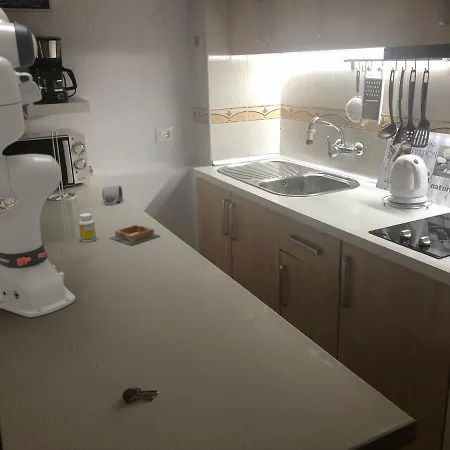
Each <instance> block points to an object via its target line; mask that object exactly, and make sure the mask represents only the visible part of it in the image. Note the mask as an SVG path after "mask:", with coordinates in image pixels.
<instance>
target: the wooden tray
mask: <svg viewBox="0 0 450 450" xmlns="http://www.w3.org/2000/svg"><path fill="white" fill-rule="evenodd" d="M114 234H115V235H114V236H111V237H109V239H110V240H112V241H114V242H118V243H122V244H124V245H128V246H131V247H132V246H137V245H139V244H142V243H145V242H147V241H151V240H154V239H157V238H160V237H161V235H159V234H157V233H155V229H154V228H150V227H147V226H145V225H143V226H142V225H139V224H135V225H130V226H127V227H124V228H120V229H118V230H114Z"/></svg>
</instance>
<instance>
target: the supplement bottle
mask: <svg viewBox="0 0 450 450" xmlns="http://www.w3.org/2000/svg"><path fill="white" fill-rule="evenodd" d="M78 225H79V235H80V240H81V241H82V242H84V243H89V242H94V241H95V240H96V239H97V235H96V228H95V227H96V226H95V221H94V219H93V218H92V213H91V212H90V213H88V212H87V213H81V214H80V215H79V222H78Z"/></svg>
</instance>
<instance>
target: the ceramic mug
mask: <svg viewBox="0 0 450 450" xmlns="http://www.w3.org/2000/svg"><path fill="white" fill-rule="evenodd" d="M123 195H124V194H123V188H122V186H121V185H112V186H104V187H103V188H102V199H103V201H104V204H105V205H106V206H113V205H116V204H117V203H122V202H123V198H124V197H123Z"/></svg>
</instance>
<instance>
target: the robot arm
mask: <svg viewBox="0 0 450 450" xmlns="http://www.w3.org/2000/svg"><path fill="white" fill-rule="evenodd" d="M37 56H38V44H37V39H36V37H35V36H34V33H32V30H31V29H30V28H29V27H28V26H26V25H24V24H21V23H18V21H16V20H14V22H10V19H9V18H8V16H7V14H6V13H5V12H4V10H3V9H2V7H0V200H6V199H15V200H16V202H15V204H14V205H13V207H11V208H10V209H8V210H6V211H5V212H3V213H2V214H0V309H2V310H5V311H9V312H11V313H14V314H17V315H21V316H23V317H26V318H34V317H40V316H43V315H47V314H50V313H53V312H55V311H58V310H61V309H64V308H65V307H68V306H69V305H70V304H72V303H74V302H75V301H76V295H75V294H73V293H72V291H70V290H69V289H68V288H67V287H66V286H65V283H64V280H65V274H64V272H63V271H60V272H58V271H57V269H56V266H55V264H52V263H51V261H50V260H49V258H48V252H47V249H46V247H45V245H44V243H43V241H42V234H41V214H42V213H41V212H42V209H43V207H44V205H45V203H46V201H47V200H48V199H49V197H50V195H51V194H53V193H54V192H55V191H56V190H57V189H58V187H59V186H60V184H61V181H62V170H61V169H62V168H61V166H60V165H59V162H58V161H57V160H56V159H55V158H54V157H53V156H52V155H48V154H41V153H39V154H38V153H26V154H25V153H24V154H15V155H5V154H3V153H4V152H3V151H4V150H5V149H6V148H7V147H8V146H10V145H12V144H13V143H15V142H16V141H18V140H19V139H20V138H21V137H23V135H24V134H25V130H26V125H25V124H26V123H25V117H24V112H23V111H24V109H23V106H25V105H28V106H29V109H28V110H27V113H28V114H27V115H28V117H33V116H34V112H33V111H34V106H35V104H34V103H37V102H39V101H42V99H43V96H42V93H41V90H40V88H39V86H38V84H37V83H36V81H33V76H32V74H30V73H28V72H21V71H16V69H17V68H20V69H23V68H28V67H31V66H33V65H34V63H36V57H37Z"/></svg>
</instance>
